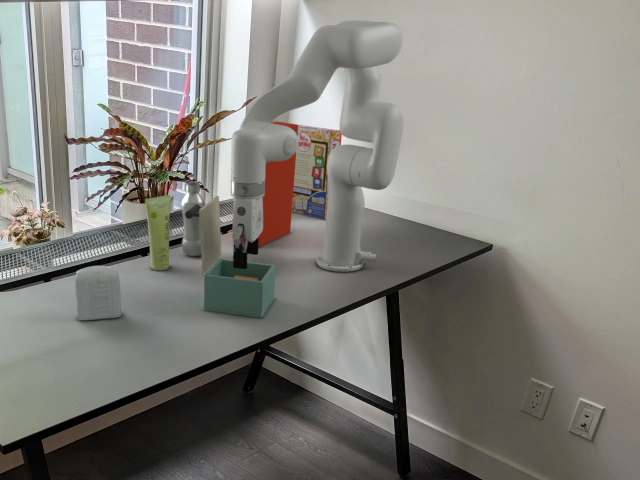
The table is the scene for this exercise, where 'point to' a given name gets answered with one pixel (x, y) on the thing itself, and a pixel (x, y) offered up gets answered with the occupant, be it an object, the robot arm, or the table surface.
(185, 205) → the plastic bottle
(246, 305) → the open storage box
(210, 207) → the lid
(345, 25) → the robot arm
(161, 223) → the tube
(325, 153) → the board game
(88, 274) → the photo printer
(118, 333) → the table surface
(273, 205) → the file binder
